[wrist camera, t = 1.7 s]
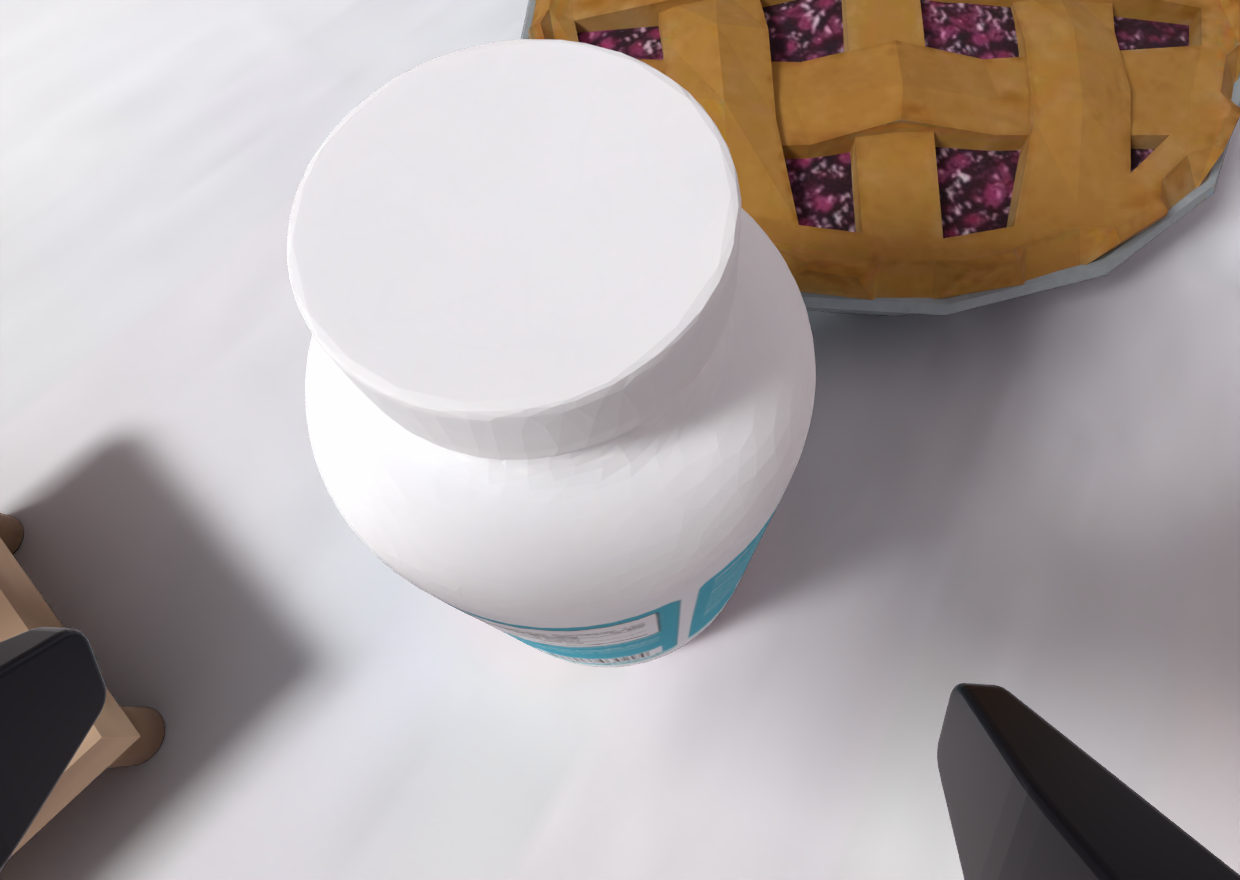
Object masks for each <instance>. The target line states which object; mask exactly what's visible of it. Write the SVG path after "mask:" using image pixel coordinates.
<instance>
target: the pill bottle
mask: <svg viewBox="0 0 1240 880" xmlns="http://www.w3.org/2000/svg"><path fill="white" fill-rule="evenodd" d="M287 264H288V270H289V277H290V282H291V286H292V289H293V292H294V296H295V299H296V303H297V306H298V308H299V310H300V312H301V314H302V316H303V318H304V320H305V322H306V324H307V326H308V327H309V329H310V331H311V333H312V338H311V343H310V347H309V352H308V358H307V367H306V376H305V403H306V418H307V424H308V430H309V436H310V441H311V445H312V450H313V454H314V457H315V460H316V463H317V466H318V469H319V472H320V475H321V477H322V479H323V481H324V483H325V485H326V488H327V490H328V492H329V493H330V495H331V497H332V499H333V501H334V503H335V505H336V506H337V508H338V509H339V511H340V512H341V514H342V516H343V517H344V519H345V520H346V522H347V523H348V525H349V526H350V528H351V529H352V530H353V531H354V532H355V533H356V534H357V536H358V537H359V538H360V539H361V540H362V541H363V542H364V543H365V545H366V546H367V547H368V548H369V549H370V550H371V551H372V552H373V553H374V554H375V555H376V556H377V557H378V558H379V559H380V560H381V561H382V562H383V563H385V564H386V565H387V566H388V567H390V568H391V569H392V570H393V571H395V572H396V573H397V574H399V575H400V576H402V577H403V578H405V579H406V580H408V581H409V582H411V583H412V584H414V585H415V586H417V587H418V588H420V589H422V590H423V591H425V592H427V593H429V594H431V595H433V596H434V597H436V598H438V599H440V600H442V601H443V602H445V603H447V604H449V605H450V606H452V607H454V608H456V609H458V610H460V611H462V612H464V613H466V614H468V615H470V616H472V617H475V618H477V619H479V620H481V621H483V622H484V623H486V624H488V625H490V626H492V627H494V628H496V629H498V630H501V631H502V632H504V633H506V634H508V635H510V636H512V637H514V638H516V639H518V640H520V641H522V642H524V643H526V644H528V645H530V646H532V647H534V648H536V649H538V650H539V651H542V652H544V653H547V654H549V655H552V656H554V657H556V658H559V659H562V660H565V661H568V662H571V663H575V664H579V665H585V666H592V667H624V666H631V665H635V664H640V663H645V662H649V661H651V660H654V659H657V658H660V657H662V656H665V655H667V654H669V653H671V652H673V651H675V650H676V649H678V648H680V647H682V646H684V645H685V644H687V643H688V642H690V641H691V640H692V639H693V638H695V637H696V636H697V635H698V634H700V633H701V632H702V631H703V630H704V629H705V628H707V627H708V626H709V625H710V624H711V623H712V622H713V621H714V619H715V618H716V617H717V616H718V615H719V613H720V612H721V611H722V610H723V608H724V607H725V605H726V604H727V602H728V601H729V599H730V598H731V596H732V594H733V593H734V591H735V589H736V587H737V585H738V583H739V581H740V579H741V577H742V575H743V573H744V571H745V569H746V567H747V565H748V563H749V561H750V559H751V557H752V555H753V553H754V551H755V549H756V547H757V545H758V543H759V541H760V539H761V537H762V535H763V533H764V531H765V529H766V528H767V526H768V524H769V522H770V520H771V518H772V516H773V514H774V512H775V510H776V508H777V506H778V504H779V502H780V500H781V498H782V496H783V494H784V492H785V490H786V488H787V486H788V484H789V482H790V480H791V477H792V475H793V473H794V471H795V469H796V466H797V464H798V462H799V459H800V456H801V454H802V451H803V448H804V444H805V441H806V437H807V434H808V430H809V427H810V422H811V417H812V412H813V407H814V397H815V387H816V363H815V353H814V343H813V335H812V331H811V327H810V323H809V319H808V314H807V310H806V306H805V304H804V301H803V298H802V296H801V293H800V291H799V288H798V285H797V283H796V281H795V279H794V277H793V275H792V273H791V272H790V270H789V268H788V266H787V264H786V262H785V260H784V259H783V257H782V255H781V254H780V252H779V251H778V249H777V248H776V246H775V245H774V244H773V242H772V241H771V240H770V238H769V237H768V236H767V234H766V233H765V232H764V231H763V230H762V228H761V227H760V226H759V225H758V224H757V223H756V222H755V220H754V219H753V218H752V217H751V216H750V215H749V214H748V213H747V212H746V211H745V210H743V209H742V208H741V195H740V189H739V183H738V177H737V172H736V169H735V166H734V163H733V160H732V157H731V154H730V151H729V148H728V146H727V144H726V142H725V140H724V138H723V137H722V135H721V133H720V131H719V129H718V127H717V126H716V124H715V123H714V122H713V120H712V119H711V118H710V116H709V115H708V114H707V112H706V111H705V109H704V108H703V107H702V106H701V105H700V104H699V103H698V102H697V101H696V100H695V99H694V98H693V96H692V95H691V94H690V93H689V92H688V91H687V90H685V89H684V88H683V87H681V86H680V85H679V84H678V83H676V82H675V81H673V80H672V79H671V78H669V77H668V76H666V75H664V74H663V73H661V72H660V71H658V70H656V69H655V68H653V67H651V66H649V65H648V64H646V63H644V62H642V61H640V60H637V59H635V58H633V57H630V56H628V55H626V54H623V53H621V52H617V51H613V50H609V49H606V48H602V47H598V46H594V45H590V44H587V43H581V42H574V41H567V40H552V39H519V40H510V41H501V42H493V43H488V44H484V45H479V46H474V47H470V48H465V49H461V50H458V51H455V52H452V53H449V54H446V55H443V56H440V57H437V58H434V59H432V60H430V61H427V62H425V63H423V64H421V65H419V66H417V67H415V68H413V69H411V70H409V71H407V72H405V73H403V74H401V75H399V76H397V77H395V78H393V79H392V80H390V81H389V82H388V83H386V84H385V85H383V86H382V87H381V88H379V89H378V90H376V91H375V92H374V93H372V94H371V95H370V96H368V97H367V98H366V99H364V100H363V101H362V102H361V103H360V104H359V105H357V106H356V107H355V108H354V109H353V110H351V111H350V112H349V113H348V114H347V115H346V116H345V117H344V118H343V119H342V121H341V122H340V123H339V124H338V125H337V126H336V127H335V128H334V129H333V130H332V132H331V133H330V134H329V136H328V137H327V138H326V140H325V141H324V142H323V144H322V145H321V147H320V148H319V149H318V151H317V152H316V154H315V155H314V157H313V158H312V160H311V162H310V163H309V165H308V166H307V168H306V170H305V173H304V176H303V178H302V180H301V182H300V185H299V187H298V189H297V191H296V194H295V197H294V202H293V206H292V210H291V215H290V219H289V226H288V235H287Z"/></svg>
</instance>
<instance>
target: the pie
mask: <svg viewBox="0 0 1240 880" xmlns="http://www.w3.org/2000/svg"><path fill="white" fill-rule="evenodd" d="M521 39H552V40H567V41H574V42H581V43H587V44H590V45H594V46H598V47H602V48H606V49H609V50H613V51H617V52H621V53H623V54H626V55H628V56H630V57H633V58H635V59H637V60H640V61H642V62H644V63H646V64H648V65H649V66H651V67H653V68H655V69H656V70H658V71H660V72H661V73H663V74H664V75H666V76H668V77H669V78H671V79H672V80H673V81H675V82H676V83H678V84H679V85H680V86H681V87H683V88H684V89H685V90H687V91H688V92H689V93H690V94H691V95H692V96H693V98H694V99H695V100H696V101H697V102H698V103H699V104H700V105H701V106H702V107H703V108H704V109H705V111H706V112H707V114H708V115H709V116H710V118H711V119H712V120H713V122H714V123H715V124H716V126H717V127H718V129H719V131H720V133H721V135H722V137H723V138H724V140H725V142H726V144H727V146H728V148H729V151H730V154H731V157H732V160H733V163H734V166H735V169H736V172H737V177H738V183H739V189H740V195H741V208H742V209H743V210H745V211H746V212H747V213H748V214H749V215H750V216H751V217H752V218H753V219H754V220H755V222H756V223H757V224H758V225H759V226H760V227H761V228H762V230H763V231H764V232H765V233H766V234H767V236H768V237H769V238H770V240H771V241H772V242H773V244H774V245H775V246H776V248H777V249H778V251H779V252H780V254H781V255H782V257H783V259H784V260H785V262H786V264H787V266H788V268H789V270H790V272H791V273H792V275H793V277H794V279H795V281H796V283H797V285H798V288H799V291H800V293H801V296H802V298H803V301H804V304H805V306H806V310H807V311H822V312H838V313H855V314H872V315H889V316H900V315H904V314H908V313H915V314H932V315H949V314H953V313H957V312H961V311H965V310H968V309H972V308H976V307H980V306H984V305H988V304H992V303H996V302H1000V301H1004V300H1008V299H1012V298H1016V297H1020V296H1024V295H1028V294H1032V293H1036V292H1040V291H1044V290H1048V289H1052V288H1056V287H1060V286H1064V285H1068V284H1072V283H1076V282H1080V281H1084V280H1088V279H1092V278H1096V277H1100V276H1104V275H1106V274H1108V273H1109V272H1110V271H1112V270H1113V269H1114V268H1115V267H1117V266H1118V265H1119V264H1121V263H1122V262H1123V261H1125V260H1126V259H1127V258H1129V257H1130V256H1131V255H1133V254H1134V253H1135V252H1137V251H1138V250H1139V249H1141V248H1142V247H1143V246H1144V245H1146V244H1147V243H1148V242H1150V241H1151V240H1152V239H1154V238H1155V237H1156V236H1158V235H1159V234H1160V233H1162V232H1163V231H1164V230H1166V229H1167V228H1168V227H1170V226H1171V225H1172V224H1173V223H1175V222H1176V221H1177V220H1179V219H1180V218H1181V217H1183V216H1184V215H1185V214H1187V213H1188V212H1189V211H1191V210H1192V209H1193V208H1195V207H1196V206H1197V205H1198V204H1200V203H1201V202H1202V201H1204V200H1205V199H1206V198H1208V197H1209V196H1210V195H1212V194H1213V193H1214V190H1215V187H1216V183H1217V180H1218V177H1219V173H1220V170H1221V167H1222V163H1223V160H1224V156H1225V153H1226V150H1227V146H1228V143H1229V140H1230V136H1231V134H1232V132H1233V130H1234V128H1235V126H1236V123H1237V121H1238V119H1239V117H1240V107H1239V106H1240V0H529V2H528V7H527V12H526V17H525V21H524V26H523V31H522V36H521Z"/></svg>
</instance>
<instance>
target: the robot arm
mask: <svg viewBox="0 0 1240 880" xmlns="http://www.w3.org/2000/svg"><path fill="white" fill-rule="evenodd" d="M105 700H106V685H105V682H104V680H103V677H102V674H101V672H100V669H99V666H98V664H97V661H96V658H95V656H94V653H93V651H92V648H91V645H90V643H89V640H88V638H87V637H86V635H85V634H83V633H82V632H81V631H80V630H77V629H73V628H59V627H39V628H34V629H31V630H28V631H26V632H23V633H21V634H19V635H16V636H14V637H11V638H9V639H6V640H4V641H2V642H0V871H1V869H2V868H3V866H4V865H5V864H6V862H7V861H8V859H9V858H10V857H11V855H12V854H13V852H14V851H15V849H16V848H17V846H18V845H19V843H20V841H21V840H22V838H23V837H24V835H25V834H26V832H27V831H28V829H29V828H30V826H31V824H32V823H33V821H34V819H35V818H36V816H37V815H38V813H39V811H40V810H41V808H42V807H43V805H44V803H45V802H46V800H47V799H48V797H49V795H50V794H51V792H52V790H53V789H54V787H55V786H56V784H57V782H58V781H59V779H60V778H61V776H62V774H63V773H64V771H65V770H66V768H67V766H68V765H69V763H70V761H71V760H72V758H73V757H74V755H75V753H76V752H77V750H78V749H79V747H80V745H81V744H82V742H83V741H84V739H85V737H86V736H87V734H88V732H89V731H90V729H91V728H92V726H93V724H94V723H95V721H96V720H97V718H98V716H99V715H100V713H101V711H102V709H103V707H104V704H105ZM937 760H938V768H939V773H940V777H941V782H942V786H943V790H944V794H945V799H946V803H947V807H948V811H949V816H950V820H951V824H952V828H953V833H954V837H955V841H956V845H957V850H958V854H959V858H960V862H961V867H962V871H963V875H964V880H1240V875H1239V874H1238V873H1236V872H1235V871H1234V870H1233V869H1231V868H1230V867H1229V866H1228V865H1226V864H1225V863H1224V862H1223V861H1221V860H1220V859H1219V858H1217V857H1216V856H1215V855H1214V854H1212V853H1211V852H1210V851H1209V850H1207V849H1206V848H1205V847H1204V846H1202V845H1201V844H1200V843H1199V842H1197V841H1196V840H1195V839H1194V838H1192V837H1191V836H1190V835H1189V834H1187V833H1186V832H1185V831H1184V830H1182V829H1181V828H1180V827H1179V826H1177V825H1176V824H1175V823H1174V822H1172V821H1171V820H1170V819H1168V818H1167V817H1166V816H1165V815H1163V814H1162V813H1161V812H1160V811H1158V810H1157V809H1156V808H1155V807H1153V806H1152V805H1151V804H1150V803H1148V802H1147V801H1146V800H1145V799H1143V798H1142V797H1141V796H1140V795H1138V794H1137V793H1136V792H1135V791H1133V790H1132V789H1131V788H1130V787H1128V786H1127V785H1126V784H1125V783H1123V782H1122V781H1121V780H1119V779H1118V778H1117V777H1116V776H1114V775H1113V774H1112V773H1111V772H1109V771H1108V770H1107V769H1106V768H1104V767H1103V766H1102V765H1101V764H1099V763H1098V762H1097V761H1096V760H1094V759H1093V758H1092V757H1091V756H1089V755H1088V754H1087V753H1086V752H1084V751H1083V750H1082V749H1081V748H1079V747H1078V746H1077V745H1076V744H1074V743H1073V742H1072V741H1070V740H1069V739H1068V738H1067V737H1065V736H1064V735H1063V734H1062V733H1060V732H1059V731H1058V730H1057V729H1055V728H1054V727H1053V726H1052V725H1050V724H1049V723H1048V722H1047V721H1045V720H1044V719H1043V718H1042V717H1040V716H1039V715H1038V714H1037V713H1035V712H1034V711H1033V710H1032V709H1030V708H1029V707H1028V706H1027V705H1025V704H1024V703H1023V702H1021V701H1020V700H1019V699H1018V698H1016V697H1015V696H1014V695H1013V694H1011V693H1010V692H1009V691H1007V690H1006V689H1004V688H1002V687H1000V686H996V685H985V684H969V683H962V684H959V685H957V686H955V688H954V689H953V690H952V693H951V695H950V699H949V703H948V707H947V711H946V715H945V719H944V722H943V726H942V730H941V734H940V738H939V742H938V750H937Z"/></svg>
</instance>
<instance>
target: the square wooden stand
mask: <svg viewBox="0 0 1240 880" xmlns="http://www.w3.org/2000/svg"><path fill="white" fill-rule="evenodd" d="M22 538H23V526H22V524H21V522H20V521H19V520H18V519H16V518H14V517H11V516H8V515H5V514H2V513H0V642H2V641H4V640H6V639H9V638H11V637H14V636H16V635H19V634H21V633H23V632H26V631H28V630H31V629H34V628H39V627H59V628H64V627H63V626H62V624H61V623H60V621H59V620H58V618H57V617H56V616H55V614H54V613H53V611H52V610H51V609H50V607H49V606H48V604H47V603H46V601H45V600H44V599H43V597H42V596H41V594H40V593H39V592H38V590H37V589H36V587H35V586H34V585H33V583H32V582H31V580H30V579H29V577H28V576H27V575H26V573H25V572H24V570H23V569H22V568H21V566H20V565H19V563H18V562H17V560H16V559H15V558H14V556H13V555H12V554H13V553H14V552H15V551H16V550H17V549H18V547H19V545H20V544H21V541H22ZM164 732H165V726H164V721H163V719H162V717H161V715H160V714H159V713H158V712H157V711H156V710H154V709H152V708H148V707H120V706H119V705H118V703H117V702H116V700H115V699H114V698H113V696H112V695H111V693H110V692H109V691H108V689H107V688H106V700H105V704H104V707H103V709H102V711H101V713H100V715H99V716H98V718H97V720H96V721H95V723H94V724H93V726H92V728H91V729H90V731H89V732H88V734H87V736H86V737H85V739H84V741H83V742H82V744H81V745H80V747H79V749H78V750H77V752H76V753H75V755H74V757H73V758H72V760H71V761H70V763H69V765H68V766H67V768H66V770H65V771H64V773H63V774H62V776H61V778H60V779H59V781H58V782H57V784H56V786H55V787H54V789H53V790H52V792H51V794H50V795H49V797H48V799H47V800H46V802H45V803H44V805H43V807H42V808H41V810H40V811H39V813H38V815H37V816H36V818H35V819H34V821H33V823H32V824H31V826H30V828H29V829H28V831H27V832H26V834H25V835H24V837H23V838H22V840H21V841H20V843H19V845H18V846H17V848H16V849H15V851H14V852H13V854H12V855H11V856H13V855H14V854H15V853H16V852H17V851H18V850H19V849H20V848H21V847H22V846H23V845H24V844H25V843H27V842H28V841H29V840H30V839H31V838H32V837H33V836H34V835H35V834H36V833H37V832H38V831H39V830H41V829H42V828H43V827H44V826H45V825H46V824H47V823H48V822H49V821H50V820H51V819H52V818H53V817H54V816H56V815H57V814H58V813H59V812H60V811H61V810H62V809H63V808H64V807H65V806H66V805H67V804H68V803H70V802H71V801H72V800H73V799H74V798H75V797H76V796H77V795H78V794H79V793H80V792H81V791H82V790H83V789H85V788H86V787H87V786H88V785H89V784H90V783H91V782H92V781H93V780H94V779H95V778H96V777H97V776H99V775H100V774H101V773H102V772H103V771H104V770H105V769H106V768H113V767H124V766H135V765H139V764H142V763H144V762H146V761H147V760H149V759H150V758H151V757H152V756H153V755H154V754H155V753H156V752H157V750H158V749H159V747H160V746H161V743H162V741H163V738H164Z"/></svg>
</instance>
